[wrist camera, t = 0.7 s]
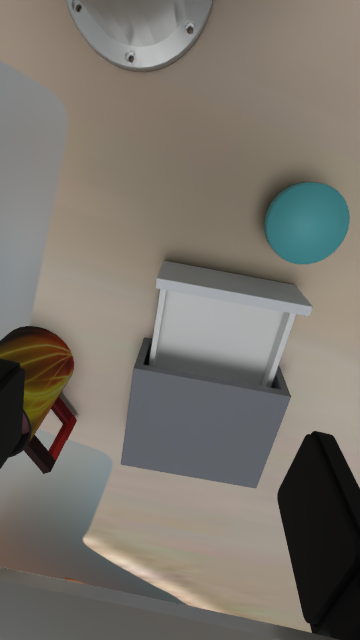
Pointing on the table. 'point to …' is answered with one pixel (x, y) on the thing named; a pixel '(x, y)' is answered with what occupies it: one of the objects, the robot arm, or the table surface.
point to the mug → (41, 388)
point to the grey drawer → (223, 323)
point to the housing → (201, 423)
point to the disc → (306, 222)
